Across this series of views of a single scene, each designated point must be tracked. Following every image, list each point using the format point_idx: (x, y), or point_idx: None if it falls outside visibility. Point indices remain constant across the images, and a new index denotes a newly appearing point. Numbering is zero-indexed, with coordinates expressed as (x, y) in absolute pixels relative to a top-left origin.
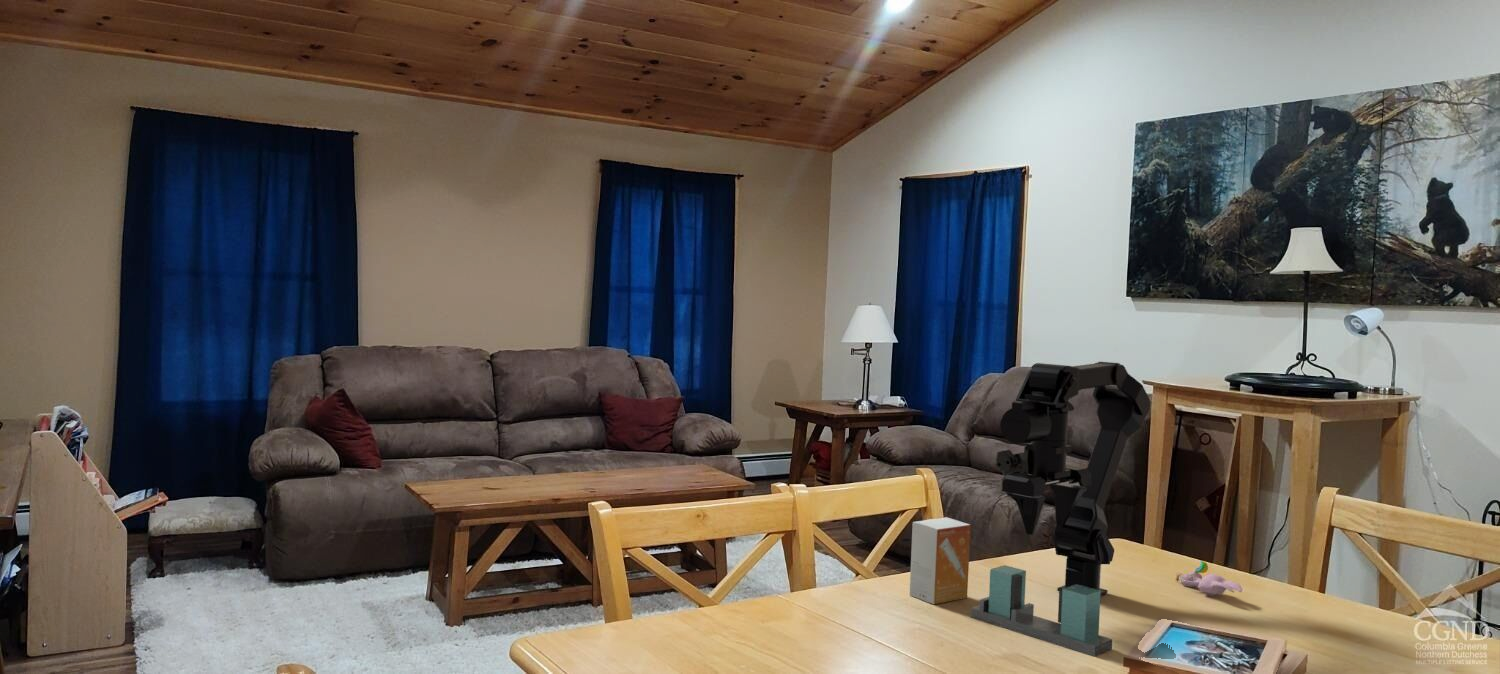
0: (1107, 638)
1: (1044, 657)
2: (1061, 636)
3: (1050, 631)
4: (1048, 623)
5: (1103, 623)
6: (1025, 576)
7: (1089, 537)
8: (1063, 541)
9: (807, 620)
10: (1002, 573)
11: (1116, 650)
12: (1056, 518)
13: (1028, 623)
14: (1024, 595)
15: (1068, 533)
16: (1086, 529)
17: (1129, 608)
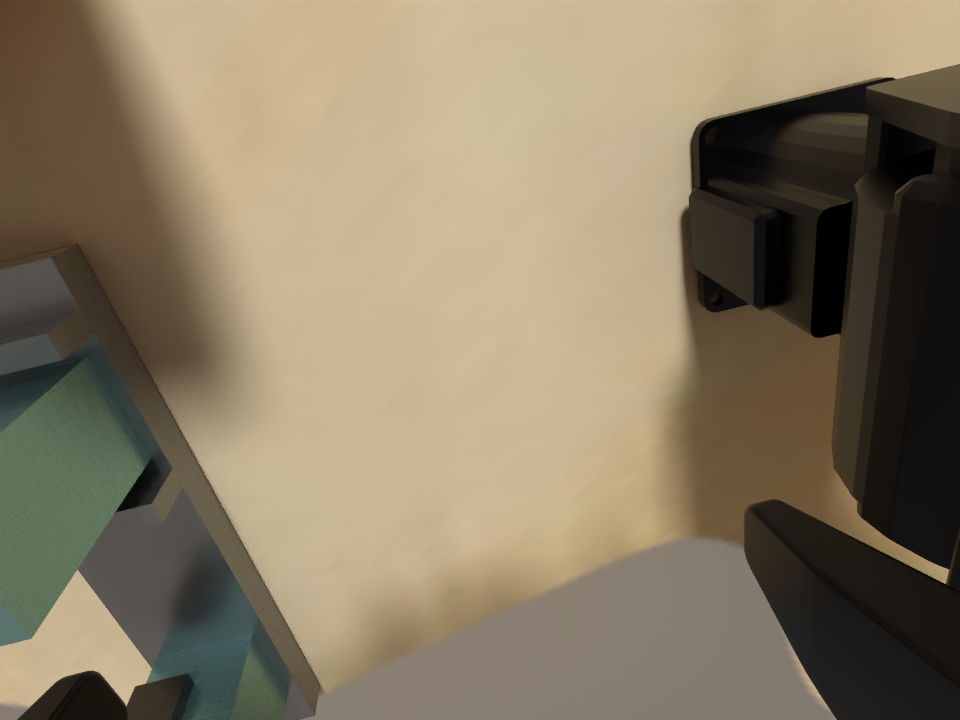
0: (302, 709)
1: (37, 685)
2: (152, 664)
3: (137, 629)
4: (187, 570)
5: (494, 525)
6: (50, 606)
7: (901, 544)
8: (855, 284)
9: None
10: None
11: (325, 691)
12: (807, 574)
13: (94, 551)
14: (106, 520)
15: (913, 374)
16: (951, 585)
17: (741, 438)
